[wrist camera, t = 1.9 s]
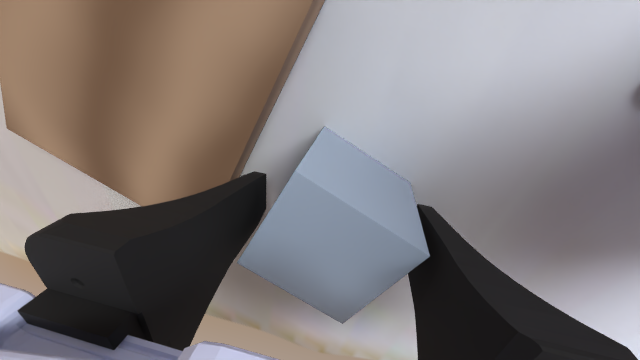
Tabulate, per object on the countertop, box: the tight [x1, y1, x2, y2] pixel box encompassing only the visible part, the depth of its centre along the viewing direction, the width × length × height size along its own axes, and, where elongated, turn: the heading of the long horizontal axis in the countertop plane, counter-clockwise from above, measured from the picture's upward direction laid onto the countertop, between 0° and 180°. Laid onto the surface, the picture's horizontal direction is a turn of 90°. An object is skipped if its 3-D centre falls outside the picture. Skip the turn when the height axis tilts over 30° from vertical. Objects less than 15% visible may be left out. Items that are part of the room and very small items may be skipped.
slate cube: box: [237, 126, 430, 324], centre depth 11 cm, size 5×5×5 cm
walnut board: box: [0, 0, 325, 206], centre depth 11 cm, size 12×14×2 cm
